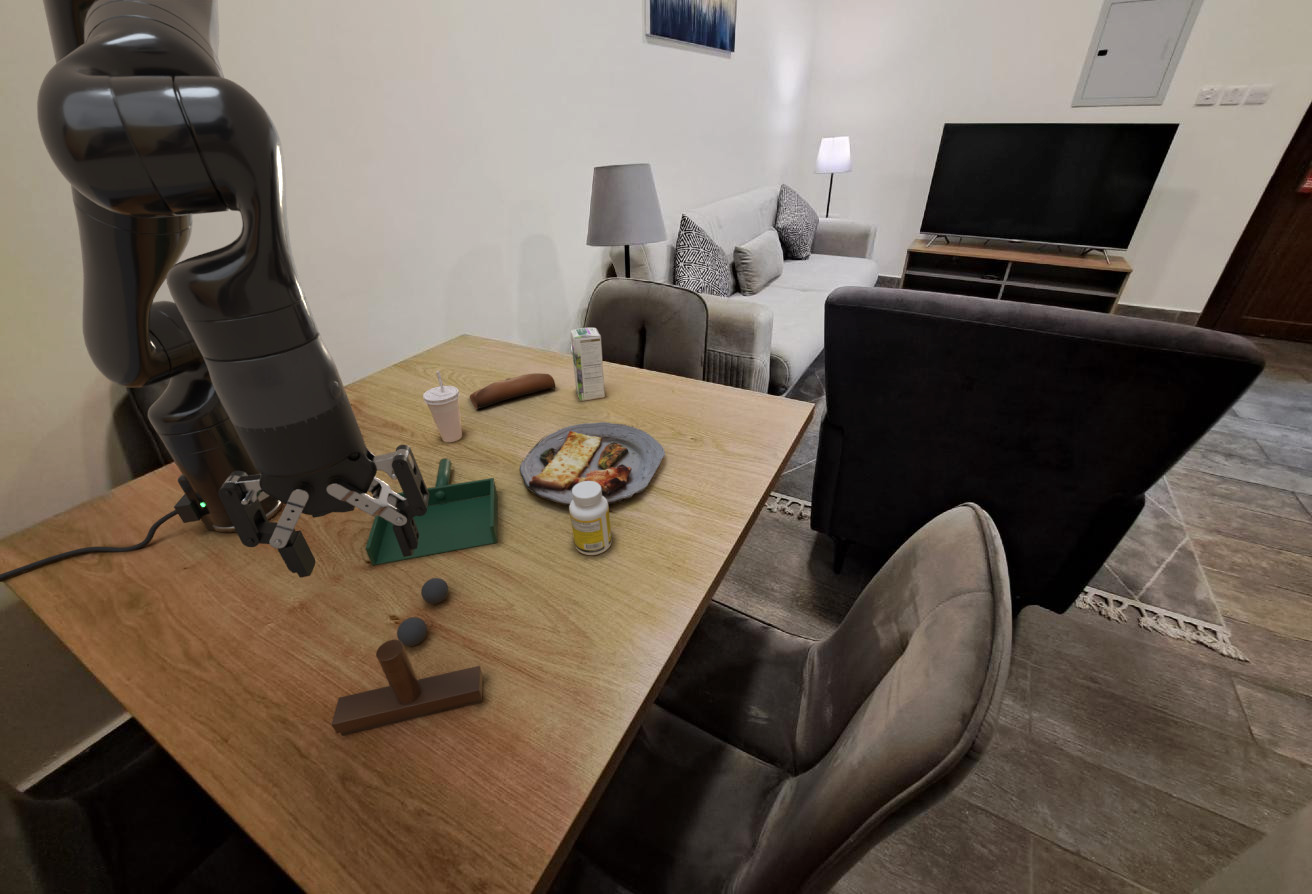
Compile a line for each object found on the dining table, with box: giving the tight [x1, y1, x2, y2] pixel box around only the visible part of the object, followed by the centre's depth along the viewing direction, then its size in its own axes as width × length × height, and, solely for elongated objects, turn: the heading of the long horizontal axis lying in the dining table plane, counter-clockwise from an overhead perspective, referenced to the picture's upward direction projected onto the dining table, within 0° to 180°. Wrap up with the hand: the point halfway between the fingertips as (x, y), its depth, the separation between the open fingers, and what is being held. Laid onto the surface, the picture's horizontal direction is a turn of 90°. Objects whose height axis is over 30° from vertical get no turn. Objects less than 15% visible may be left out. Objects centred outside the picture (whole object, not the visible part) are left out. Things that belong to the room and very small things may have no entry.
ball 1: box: [396, 616, 428, 647], centre depth 62 cm, size 3×3×3 cm
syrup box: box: [570, 327, 606, 402], centre depth 115 cm, size 6×6×14 cm
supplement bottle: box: [568, 481, 613, 556], centre depth 74 cm, size 5×5×10 cm
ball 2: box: [420, 577, 449, 605], centre depth 67 cm, size 3×3×3 cm
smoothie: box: [422, 370, 463, 443], centre depth 100 cm, size 6×6×14 cm
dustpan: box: [364, 457, 498, 567], centre depth 84 cm, size 22×17×3 cm
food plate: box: [519, 421, 666, 507], centre depth 92 cm, size 25×23×4 cm
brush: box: [330, 639, 484, 736], centre depth 53 cm, size 3×14×9 cm, turn 104°
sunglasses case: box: [469, 372, 556, 411], centre depth 118 cm, size 18×7×7 cm
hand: (360, 560), depth 48 cm, fingers open, 8 cm apart
